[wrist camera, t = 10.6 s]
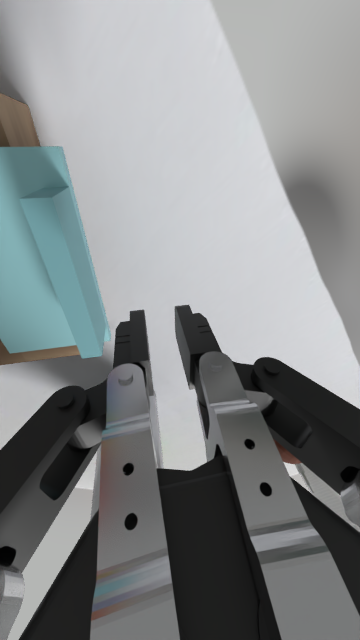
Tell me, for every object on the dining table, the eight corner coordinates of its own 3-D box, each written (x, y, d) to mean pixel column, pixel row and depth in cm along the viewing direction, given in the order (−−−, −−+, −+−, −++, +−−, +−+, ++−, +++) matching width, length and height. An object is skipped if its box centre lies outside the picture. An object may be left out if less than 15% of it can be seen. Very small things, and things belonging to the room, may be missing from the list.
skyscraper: (309, 431, 65) (403, 575, 43) (307, 442, 70) (390, 576, 48) (281, 440, 65) (360, 588, 43) (281, 451, 70) (351, 588, 48)
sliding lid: (110, 334, 23) (107, 372, 19) (14, 346, 21) (-12, 390, 18) (62, 146, 14) (35, 145, 10) (-111, 148, 12) (-222, 147, 8)
